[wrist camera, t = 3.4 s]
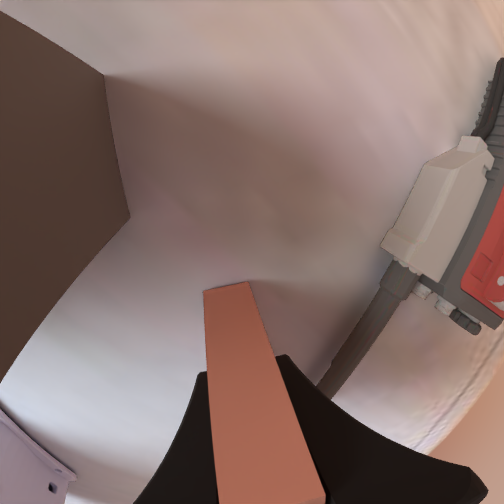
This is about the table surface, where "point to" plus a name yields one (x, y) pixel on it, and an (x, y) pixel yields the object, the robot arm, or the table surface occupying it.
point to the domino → (49, 179)
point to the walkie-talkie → (444, 240)
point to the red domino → (252, 409)
